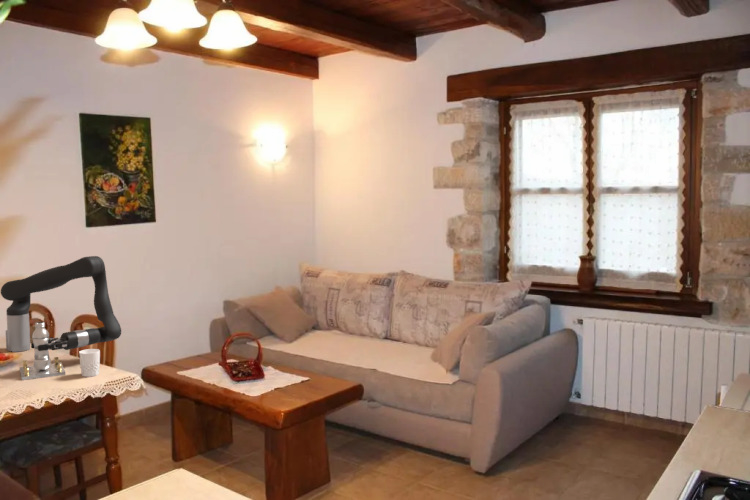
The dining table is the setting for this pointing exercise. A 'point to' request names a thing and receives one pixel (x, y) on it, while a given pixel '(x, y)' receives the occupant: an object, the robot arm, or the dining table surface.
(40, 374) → the plate
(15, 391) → the dining table surface
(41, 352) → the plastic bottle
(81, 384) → the dining table surface
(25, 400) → the dining table surface
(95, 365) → the white cup
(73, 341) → the robot arm
